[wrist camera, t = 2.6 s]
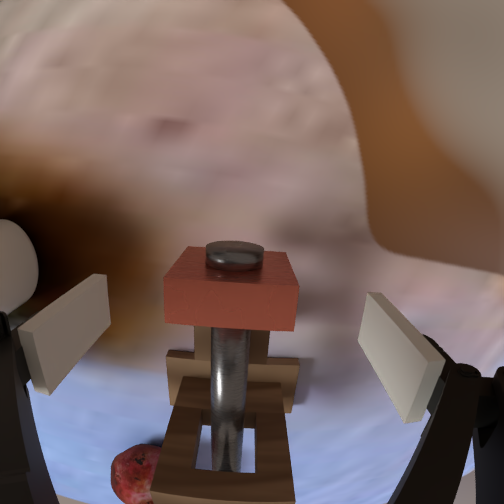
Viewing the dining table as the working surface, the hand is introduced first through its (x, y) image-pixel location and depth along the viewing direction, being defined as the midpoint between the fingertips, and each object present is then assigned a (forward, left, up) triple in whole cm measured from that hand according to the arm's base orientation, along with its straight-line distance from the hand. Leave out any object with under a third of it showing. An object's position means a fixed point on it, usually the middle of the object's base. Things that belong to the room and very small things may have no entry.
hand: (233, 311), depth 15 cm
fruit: (+27, -9, -12) cm, 30 cm away
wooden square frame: (+13, 0, -11) cm, 17 cm away
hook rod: (+7, 0, -6) cm, 10 cm away
